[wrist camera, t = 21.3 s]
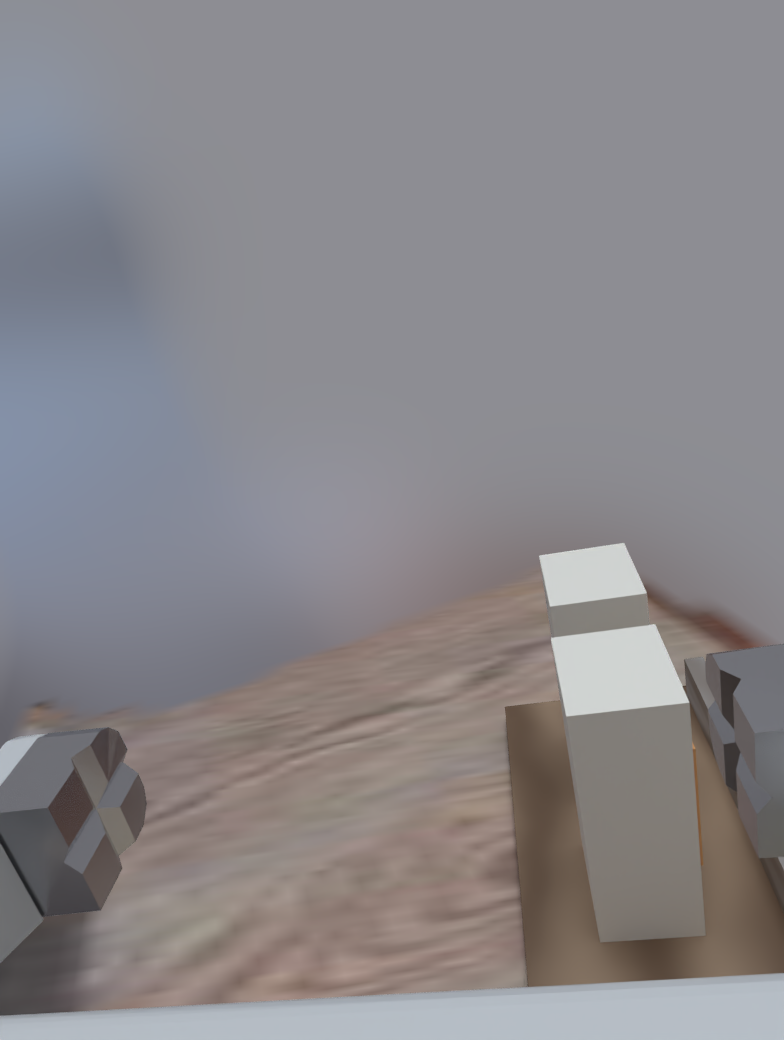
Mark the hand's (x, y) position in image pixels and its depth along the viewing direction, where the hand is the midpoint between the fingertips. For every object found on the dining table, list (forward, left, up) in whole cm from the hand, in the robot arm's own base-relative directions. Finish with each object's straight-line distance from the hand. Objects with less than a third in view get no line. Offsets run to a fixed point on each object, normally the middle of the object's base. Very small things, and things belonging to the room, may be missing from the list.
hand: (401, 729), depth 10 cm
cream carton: (-2, +21, -28) cm, 36 cm away
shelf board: (-3, +25, -30) cm, 39 cm away
